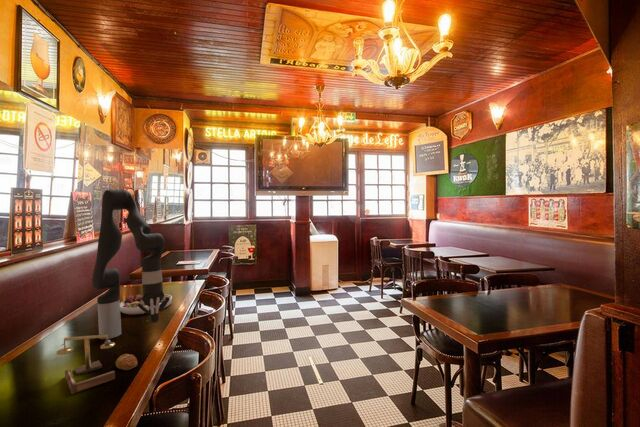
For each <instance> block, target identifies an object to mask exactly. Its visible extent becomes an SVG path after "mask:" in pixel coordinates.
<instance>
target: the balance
mask: <svg viewBox="0 0 640 427" xmlns="http://www.w3.org/2000/svg"><path fill="white" fill-rule="evenodd" d="M103 337H107V339H105V341H104V343H103V344H101V345H100V348H99V349H101V350H106V349H111V348H113V347H115V346H116V342H114V341H112V340H111V339H108V334H105V335H99V334H97V335H94V334H93V335H83V336H70V337H64V338H63V348H61V349H58V350H57V351H56V353H55V354H56V355H57V356H60V355H61V356H62V355H66V354H70V353H72V352H73V351H74V347H71V346H70V347H69V346H68V347H66V341H68V342H69V341H77V340H78V341H79V340H83V342H84V343H83V344H84V359H85V360H84V361H85V364H82V365H80V366H75V367H74V369H73V370H74V372H75V375H76V376H80V375H83V374H87V373H90V372H93V371H96V370H99V369H102V368H103V364H102V363H101V362H100V360H96V361H92V360H91V346H90V342H91V341H90V339H100V338H103Z"/></svg>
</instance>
